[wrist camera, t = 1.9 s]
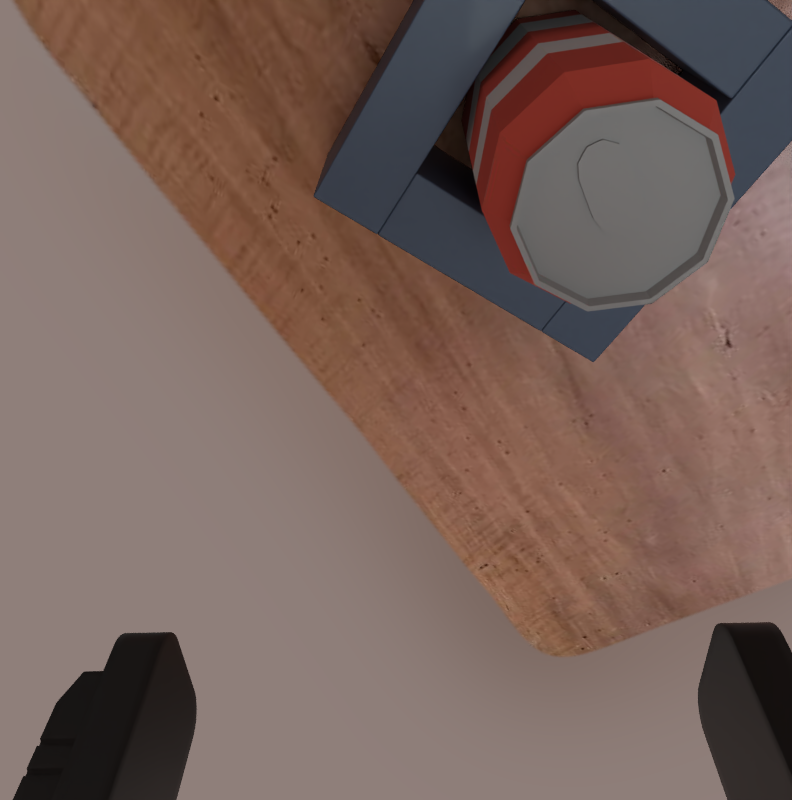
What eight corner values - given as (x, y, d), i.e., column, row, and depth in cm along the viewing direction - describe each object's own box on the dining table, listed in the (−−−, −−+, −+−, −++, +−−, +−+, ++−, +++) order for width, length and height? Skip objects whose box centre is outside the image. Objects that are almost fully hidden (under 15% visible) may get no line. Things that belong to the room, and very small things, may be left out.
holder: (327, 154, 29) (312, 196, 25) (512, -177, 23) (533, -195, 19) (570, 303, 32) (593, 363, 28) (785, 45, 27) (854, 72, 22)
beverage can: (597, -28, 25) (717, 16, 15) (650, 144, 29) (778, 273, 19) (435, 58, 27) (449, 149, 17) (502, 212, 30) (547, 365, 20)
